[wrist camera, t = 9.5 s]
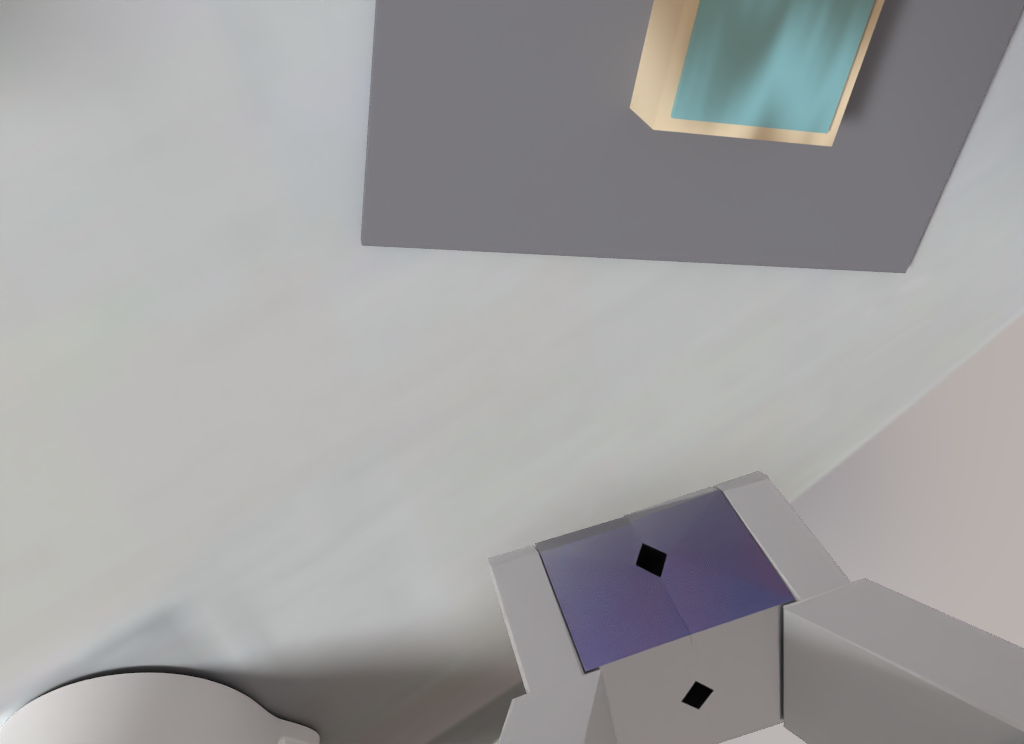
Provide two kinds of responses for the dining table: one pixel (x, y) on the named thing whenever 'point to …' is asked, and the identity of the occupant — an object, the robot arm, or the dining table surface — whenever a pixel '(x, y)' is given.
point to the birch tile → (753, 67)
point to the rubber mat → (655, 140)
